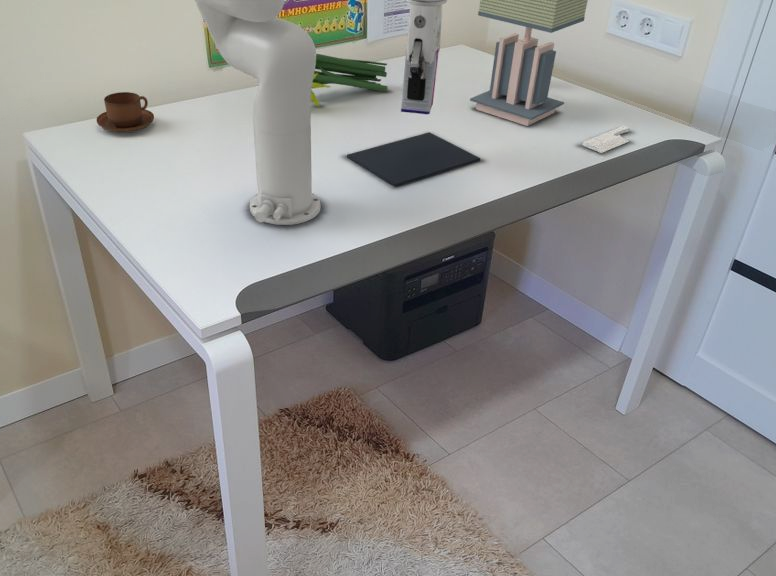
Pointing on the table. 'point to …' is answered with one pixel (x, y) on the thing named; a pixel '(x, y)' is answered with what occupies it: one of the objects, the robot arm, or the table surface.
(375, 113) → the table surface
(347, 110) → the table surface
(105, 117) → the cup and saucer
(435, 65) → the supplement box
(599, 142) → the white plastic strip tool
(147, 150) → the table surface
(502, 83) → the desk lamp
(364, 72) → the daffodil flowers
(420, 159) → the desk pad
